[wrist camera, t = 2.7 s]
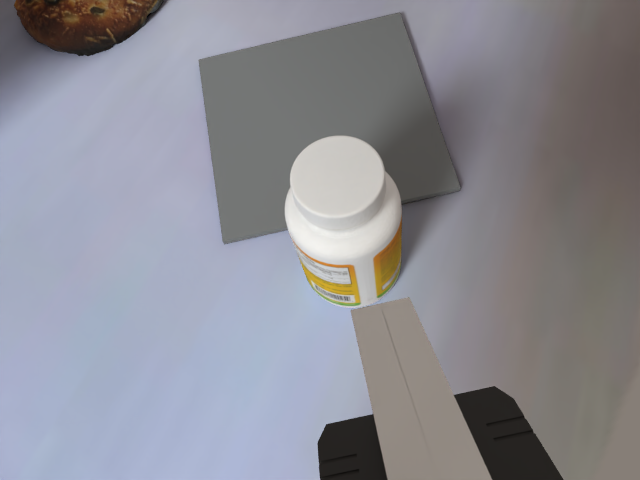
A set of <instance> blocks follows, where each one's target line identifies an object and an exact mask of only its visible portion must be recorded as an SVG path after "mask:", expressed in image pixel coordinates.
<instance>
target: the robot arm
mask: <svg viewBox="0 0 640 480" xmlns="http://www.w3.org/2000/svg"><path fill="white" fill-rule="evenodd" d="M351 314H352V319H353V323H354V328H355V332H356V337H357V342H358V346H359V351H360V355H361V360H362V365H363V369H364V374H365V378H366V383H367V387H368V392H369V397H370V401H371V406H372V410H373V414H372V415H367V416H363V417H358V418H353V419H349V420H344V421H340V422H335V423H330V424H326V426H325V428H324V430H323V432H322V435H321V437H320V439H319V441H318V456H319V471H320V480H563V478H562V477H561V475H560V473H559V472H558V470H557V469H556V467H555V465H554V464H553V462H552V460H551V459H550V457H549V456H548V454H547V452H546V451H545V449H544V447H543V446H542V444H541V442H540V441H539V439H538V438H537V436H536V434H535V433H533V429H532V428H531V426H530V425H529V423H528V421H527V420H526V419H525V418H524V415H523V413H522V412H521V410H520V408H519V407H518V405H517V403H516V402H515V400H514V399H513V398H512V397H510V396H509V395H507V394H506V393H504V392H503V391H501V390H500V389H498V388H496V387H495V386H493V387H489V388H484V389H480V390H475V391H470V392H466V393H461V394H456V395H453V392H452V390H451V388H450V386H449V384H448V381H447V379H446V377H445V375H444V373H443V370H442V368H441V366H440V364H439V362H438V359H437V357H436V355H435V353H434V351H433V348H432V346H431V344H430V342H429V340H428V337H427V335H426V333H425V331H424V329H423V326H422V324H421V322H420V320H419V318H418V315H417V313H416V311H415V309H414V307H413V304H412V302H411V300H410V298H409V297H408V298H404V299H399V300H395V301H390V302H386V303H381V304H377V305H372V306H368V307H363V308H358V309H354V310H351Z"/></svg>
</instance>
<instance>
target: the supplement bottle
mask: <svg viewBox="0 0 640 480" xmlns="http://www.w3.org/2000/svg"><path fill="white" fill-rule="evenodd" d="M290 186H291V187H290V189H289V191H288V194H287V197H286V201H285V219H286V224H287V228H288V231H289V234H290V236H291V239H292V241H293V243H294V246H295V249H296V251H297V254H298V257H299V259H300V262H301V264H302V267H303V270H304V272H305V275H306V277H307V280H308V282H309V284H310V285H311V287H312V288H313V290H314V291H315V292H316V293H317V294H318V295H319V296H320V297H321V298H323V299H324V300H326V301H327V302H329V303H331V304H334V305H336V306H340V307H345V308H358V307H364V306H367V305H370V304H372V303H375V302H376V301H378V300H380V299H381V298H382V297H384V296H385V295H386V294H387V293H388V292H389V291H390V290H391V288H392V287H393V286H394V284H395V282H396V281H397V278H398V276H399V273H400V268H401V233H402V206H401V199H400V194H399V191H398V189H397V186H396V184H395V182H394V181H393V179H392V178H391V177H390V176H389V174H388V173H387V172H386V171H385V168H384V165H383V162H382V159H381V157H380V156H379V154H378V153H377V151H376V150H375V149H374V148H373V147H372V146H370V145H369V144H368V143H366V142H364V141H363V140H360V139H358V138H355V137H350V136H329V137H326V138H322V139H320V140H317V141H315V142H313V143H312V144H310V145H309V146H307V147H306V148H305V149H304V150H303V151H302V152H301V153H300V154H299V155H298V157H297V158H296V160H295V162H294V164H293V166H292V169H291V173H290Z"/></svg>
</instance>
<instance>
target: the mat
mask: <svg viewBox="0 0 640 480" xmlns="http://www.w3.org/2000/svg"><path fill="white" fill-rule="evenodd" d="M199 67H200V74H201V82H202V89H203V97H204V104H205V112H206V119H207V127H208V134H209V142H210V149H211V157H212V164H213V172H214V179H215V187H216V194H217V202H218V209H219V217H220V224H221V232H222V239H223V242H224V244H228V243H232V242H236V241H241V240H245V239H250V238H254V237H258V236H263V235H267V234H272V233H276V232H280V231H285V230H288V228H287V224H286V219H285V201H286V197H287V194H288V191H289V189H290V187H291V186H290V173H291V169H292V166H293V164H294V162H295V160H296V158H297V157H298V155H299V154H300V153H301V152H302V151H303V150H304V149H305V148H306V147H307V146H309V145H310V144H312V143H313V142H315V141H317V140H320V139H322V138H326V137H329V136H350V137H355V138H358V139H360V140H363V141H364V142H366V143H368V144H369V145H370V146H372V147H373V148H374V149H375V150H376V151H377V153H378V154H379V156H380V157H381V159H382V162H383V165H384V168H385V171H386V172H387V173H388V174H389V176H390V177H391V178H392V179H393V181H394V182H395V184H396V186H397V189H398V191H399V194H400V199H401V204H404V203H408V202H413V201H417V200H421V199H426V198H430V197H435V196H439V195H443V194H448V193H452V192H457V191H460V188H461V187H460V184H459V181H458V178H457V175H456V173H455V170H454V167H453V164H452V161H451V158H450V155H449V152H448V149H447V147H446V144H445V141H444V138H443V135H442V132H441V129H440V126H439V123H438V121H437V118H436V115H435V112H434V109H433V106H432V103H431V100H430V97H429V95H428V92H427V89H426V86H425V83H424V80H423V77H422V74H421V72H420V69H419V66H418V63H417V60H416V57H415V54H414V51H413V48H412V46H411V43H410V40H409V37H408V34H407V31H406V28H405V25H404V22H403V20H402V17H401V14H400V13H396V14H392V15H387V16H383V17H379V18H375V19H370V20H366V21H362V22H358V23H353V24H349V25H345V26H340V27H336V28H332V29H328V30H323V31H319V32H315V33H311V34H306V35H302V36H298V37H294V38H289V39H285V40H281V41H277V42H272V43H268V44H264V45H260V46H255V47H251V48H247V49H242V50H238V51H234V52H230V53H225V54H221V55H217V56H213V57H208V58H204V59H200V60H199Z"/></svg>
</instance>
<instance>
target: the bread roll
mask: <svg viewBox="0 0 640 480" xmlns="http://www.w3.org/2000/svg"><path fill="white" fill-rule="evenodd" d="M162 2H163V0H16V1H15V4H14V6H15V8H16V10H17V15H18V16H19V17H20V19H21V23H22V24H23V26H24V28H25V29H26V30H27V32H28V33H29V34H30V35H31V36H32V37H33V38H34V39H35V40H36V41H37V42H40V43H43V44H45V45H47V46H48V47H50V48H51V49H53V50H56V51H60V52H67V53H70V54H77V55H78V56H83V55H87V56H89V55H93V54H95V53H99V52H102V51H106V50H109V49H110V48H111V47H113V46H111V45H113V44H115V43H117V44H118V43H121V42H123V41H124V40H126V39H127V38H129V37H130V36H131V35H132V34H134V33H135V32H136V31H137V30H138V29H140V27H142V26H144V25H145V23H146V20H147V15H148V14H149V13H153V12H155V11H156V10H157V9H158V8H159V7H160V5H161V4H162Z"/></svg>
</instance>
